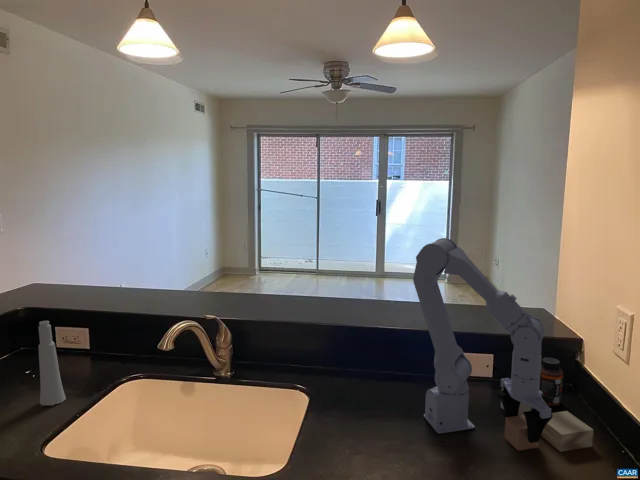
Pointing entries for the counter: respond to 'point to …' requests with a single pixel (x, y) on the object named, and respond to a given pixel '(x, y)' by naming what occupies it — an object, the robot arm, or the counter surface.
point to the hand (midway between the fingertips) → (522, 431)
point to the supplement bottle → (551, 381)
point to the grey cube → (520, 408)
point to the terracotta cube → (518, 433)
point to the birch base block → (567, 432)
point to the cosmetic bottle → (49, 368)
